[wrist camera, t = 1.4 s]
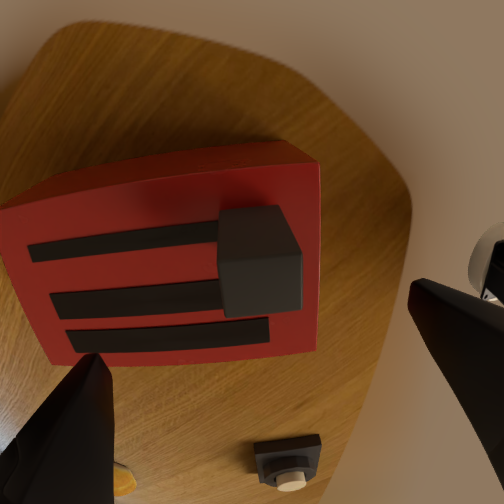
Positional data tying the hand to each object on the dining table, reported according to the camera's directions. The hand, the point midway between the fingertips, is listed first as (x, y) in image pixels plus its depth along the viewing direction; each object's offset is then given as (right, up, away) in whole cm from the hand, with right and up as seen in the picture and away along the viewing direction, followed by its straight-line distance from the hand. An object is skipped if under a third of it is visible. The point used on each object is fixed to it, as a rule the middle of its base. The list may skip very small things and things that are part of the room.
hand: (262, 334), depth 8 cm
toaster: (-6, +4, +13) cm, 15 cm away
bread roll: (-22, -31, +29) cm, 48 cm away
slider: (0, +3, +5) cm, 6 cm away
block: (+4, -25, +28) cm, 38 cm away
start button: (+5, -26, +25) cm, 37 cm away
